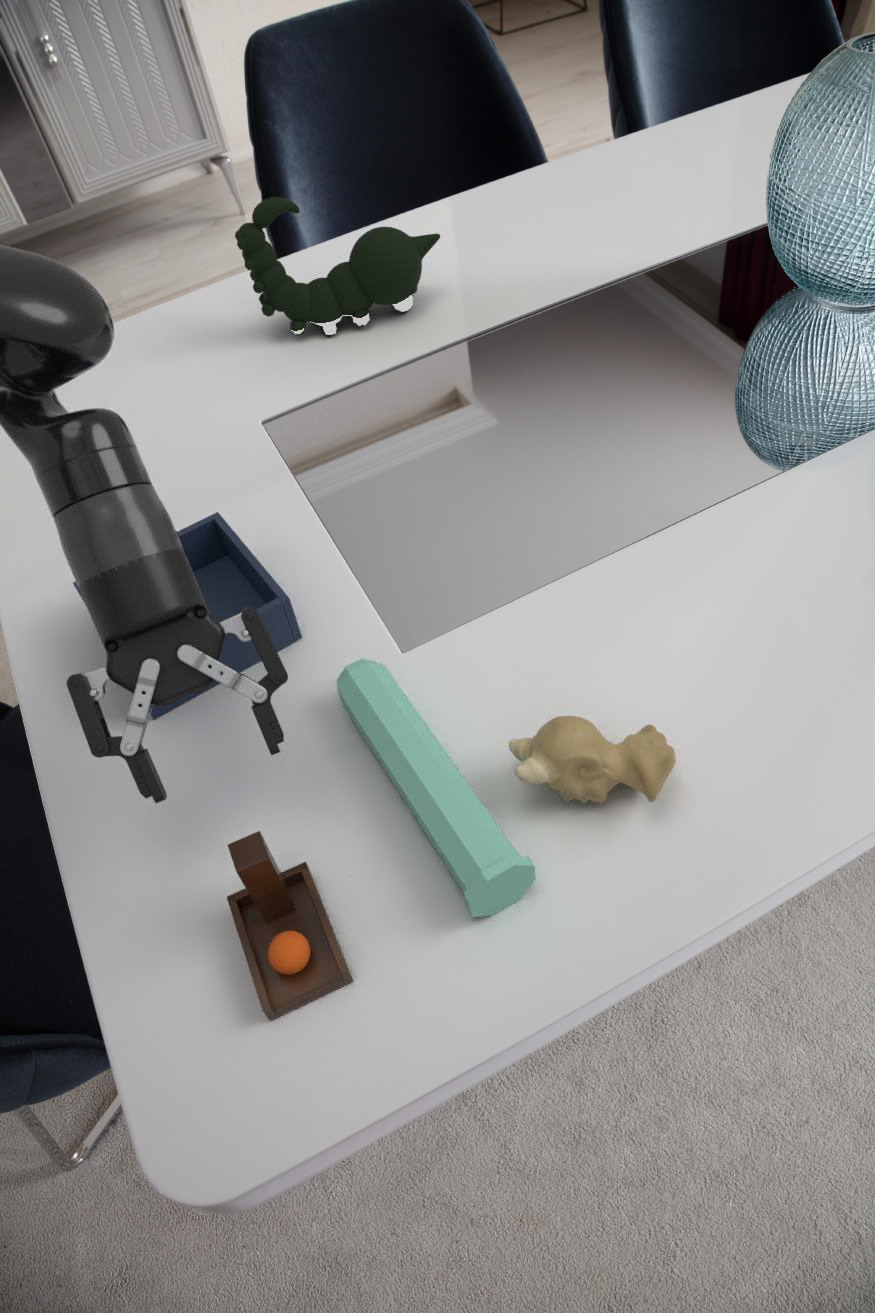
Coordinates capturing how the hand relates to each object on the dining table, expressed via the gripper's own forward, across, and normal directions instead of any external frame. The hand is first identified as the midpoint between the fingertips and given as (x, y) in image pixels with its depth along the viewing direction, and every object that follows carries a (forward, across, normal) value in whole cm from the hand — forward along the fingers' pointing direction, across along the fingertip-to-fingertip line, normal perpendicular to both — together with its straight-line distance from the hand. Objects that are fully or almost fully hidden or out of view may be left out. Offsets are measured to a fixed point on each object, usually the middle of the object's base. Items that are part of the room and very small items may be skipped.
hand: (219, 775), depth 66 cm
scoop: (+14, 0, +2) cm, 14 cm away
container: (+9, +14, +7) cm, 18 cm away
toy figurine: (-42, +36, +58) cm, 80 cm away
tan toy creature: (+13, +27, +3) cm, 30 cm away
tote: (-11, +2, +26) cm, 28 cm away
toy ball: (+14, 0, -1) cm, 14 cm away
